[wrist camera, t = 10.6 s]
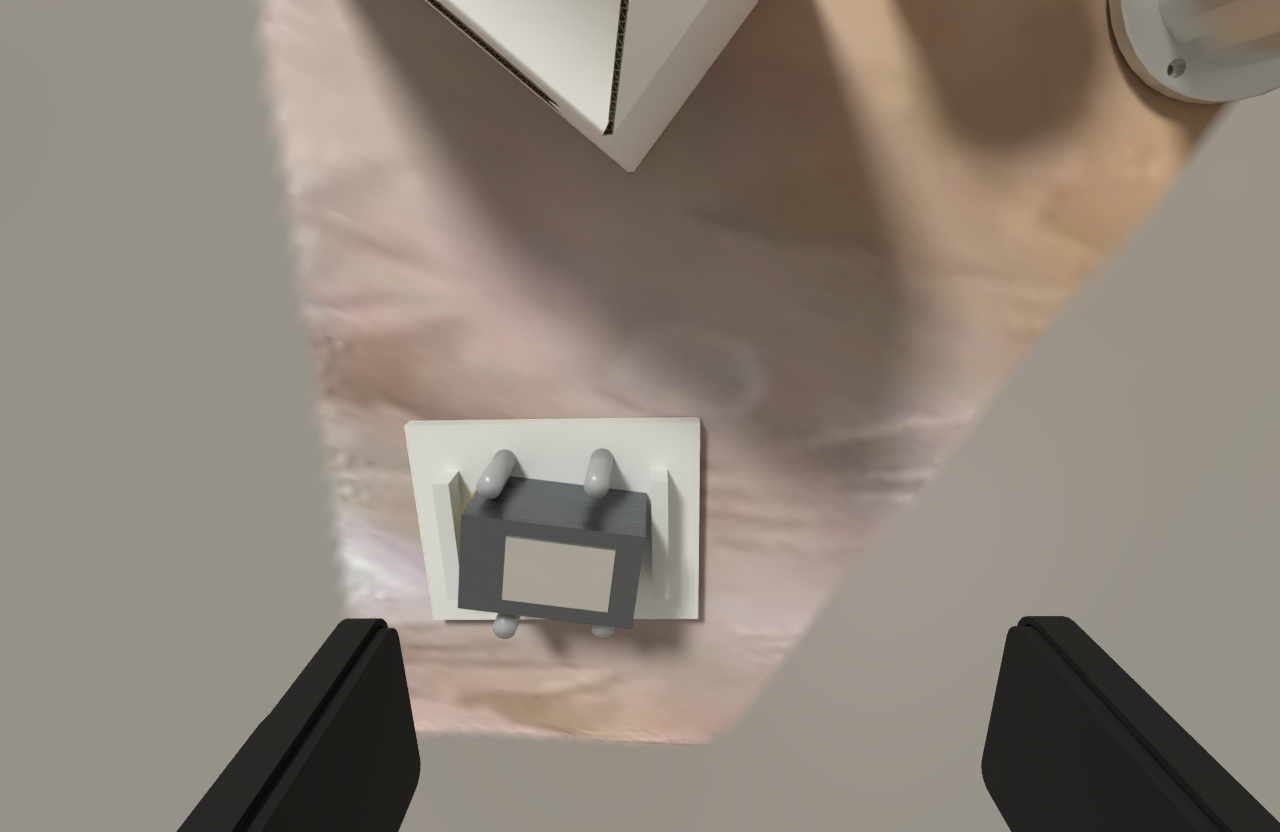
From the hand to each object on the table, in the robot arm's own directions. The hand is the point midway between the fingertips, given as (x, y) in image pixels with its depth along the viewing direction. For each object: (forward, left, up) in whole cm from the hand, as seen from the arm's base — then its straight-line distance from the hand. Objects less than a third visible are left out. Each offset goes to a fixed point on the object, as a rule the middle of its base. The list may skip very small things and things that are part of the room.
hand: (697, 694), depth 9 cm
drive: (+7, +12, -27) cm, 31 cm away
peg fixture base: (+7, +12, -28) cm, 32 cm away
